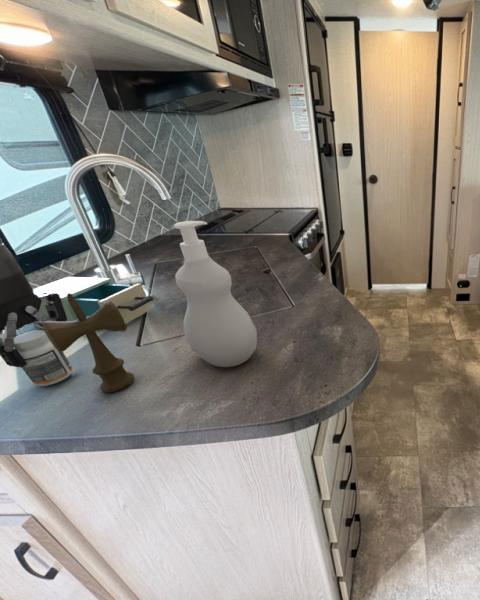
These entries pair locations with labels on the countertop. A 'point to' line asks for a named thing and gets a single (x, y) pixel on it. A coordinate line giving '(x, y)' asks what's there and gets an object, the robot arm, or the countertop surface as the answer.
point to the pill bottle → (42, 358)
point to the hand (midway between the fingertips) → (40, 355)
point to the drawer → (115, 300)
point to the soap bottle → (212, 306)
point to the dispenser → (69, 286)
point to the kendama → (93, 341)
